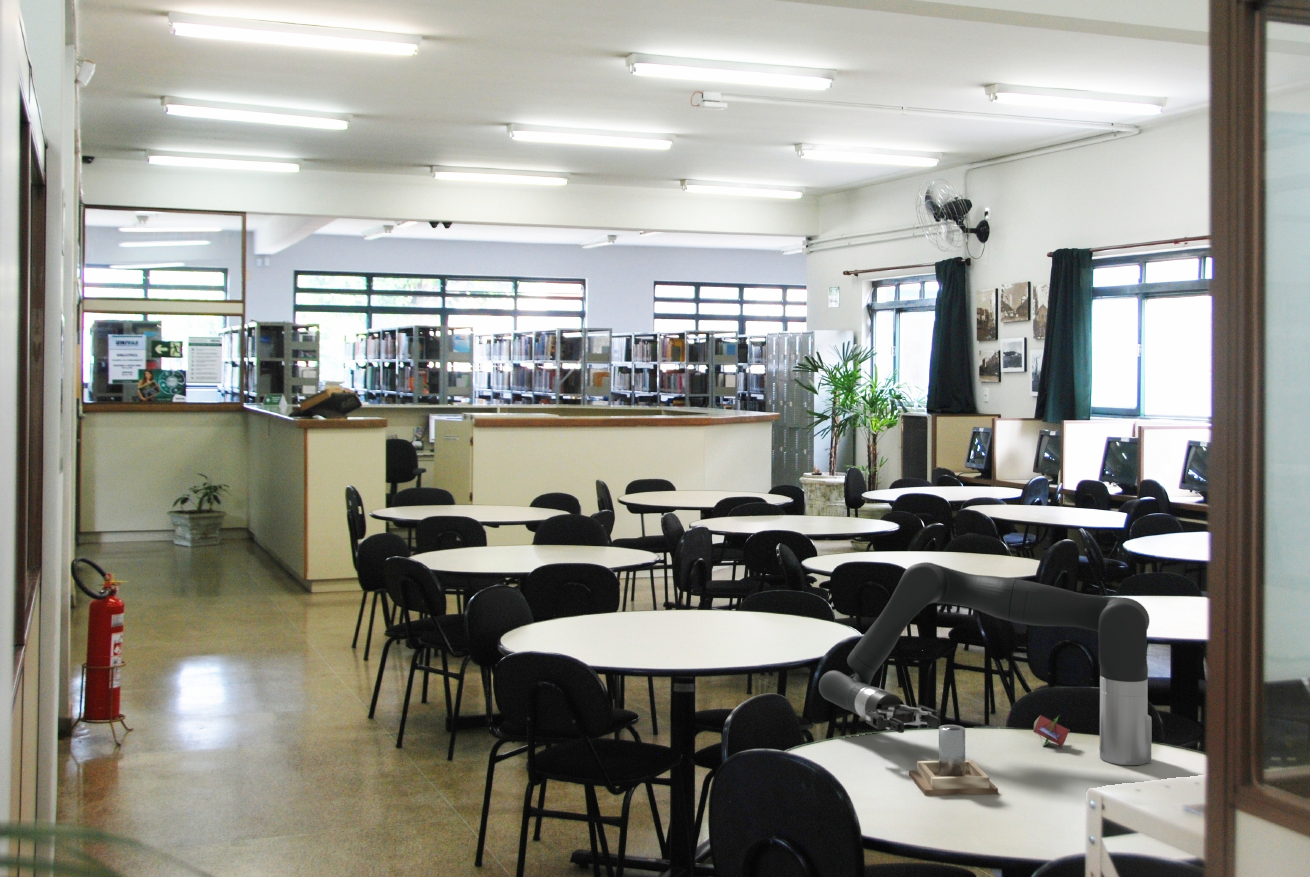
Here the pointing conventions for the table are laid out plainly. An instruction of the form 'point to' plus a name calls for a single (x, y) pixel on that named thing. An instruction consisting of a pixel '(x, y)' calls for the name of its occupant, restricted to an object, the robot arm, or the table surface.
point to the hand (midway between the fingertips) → (920, 725)
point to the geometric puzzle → (1050, 730)
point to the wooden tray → (951, 780)
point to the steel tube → (951, 751)
